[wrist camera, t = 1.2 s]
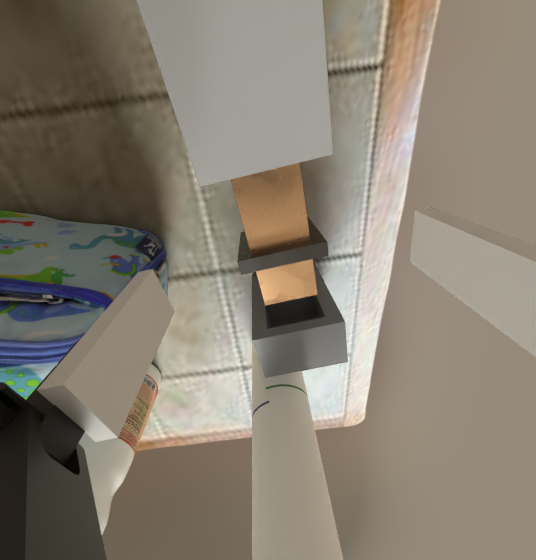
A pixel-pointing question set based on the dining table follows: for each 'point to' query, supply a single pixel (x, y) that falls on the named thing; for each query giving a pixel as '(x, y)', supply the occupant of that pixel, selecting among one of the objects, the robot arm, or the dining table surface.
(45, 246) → the lunch box
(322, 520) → the cylindrical container
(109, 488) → the fruit juice
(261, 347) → the socket
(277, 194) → the square peg
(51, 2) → the dining table surface
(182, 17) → the sleeve
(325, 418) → the dining table surface
